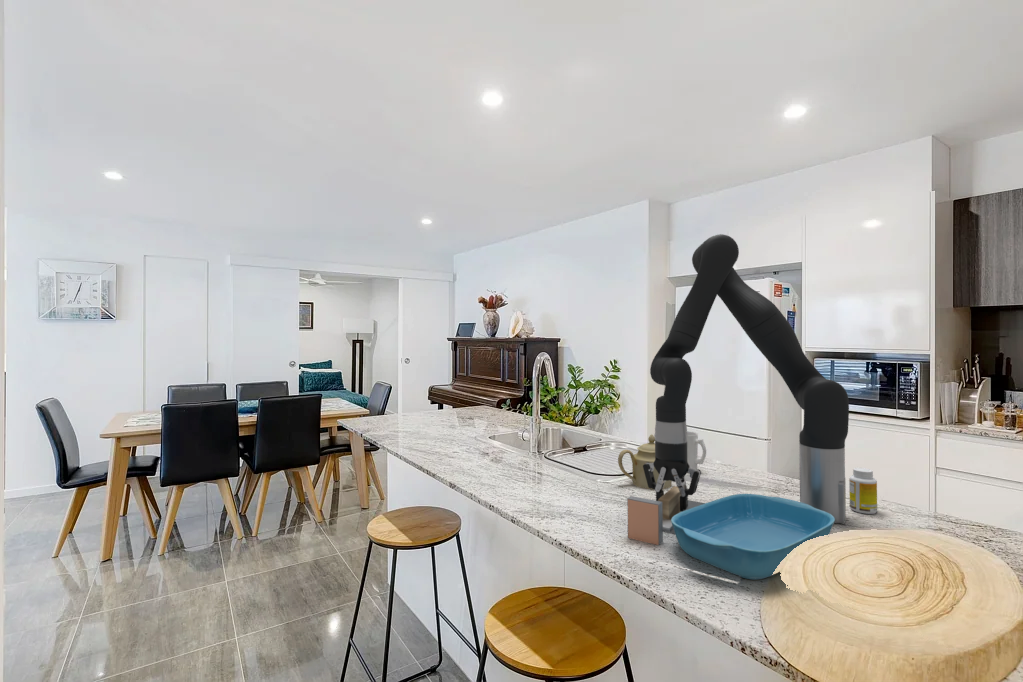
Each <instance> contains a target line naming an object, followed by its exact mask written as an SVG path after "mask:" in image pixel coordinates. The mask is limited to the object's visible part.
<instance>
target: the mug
mask: <svg viewBox="0 0 1023 682" xmlns="http://www.w3.org/2000/svg"><path fill="white" fill-rule="evenodd" d="M699 445H700V446H701V450H702V455H701V457H700V458H698V456H699V455H698V453H699V452H698V451H699V449H698V448H699V447H698V446H699ZM706 456H707V448H706V444H705V442H704V439H702V438H699V433H697V432H695V431H688V430H687V462H688V464H689V466H690V468H692V469H695V470H697V469H698V465H703V464H704V462H705V459H706ZM688 473H689V472H687V474H688Z"/></svg>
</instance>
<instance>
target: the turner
mask: <svg viewBox="0 0 1023 682" xmlns="http://www.w3.org/2000/svg"><path fill="white" fill-rule="evenodd" d="M680 496H681V494H680V491H679V488H678V487H677V485H676V486H675V485H674V486H673V487H672V486H671V487H670V489H669V490H667V491H666V492H664V495H663V496H662V497H660V498H659V499H658V501H661V502H662V507H663V530H665V531H670V530H671V529H672V528H673V525H672V522H671V519H672V517H673V516H674V515H676V514H678V513H679V512H680Z"/></svg>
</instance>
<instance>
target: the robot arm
mask: <svg viewBox="0 0 1023 682" xmlns="http://www.w3.org/2000/svg"><path fill="white" fill-rule="evenodd" d="M739 254H740V252H739V246H738V243H737V242H736V241H735V239H734V238H732V237H731V236H730V235H727V234H722V233H720V234H715V235H713V236H710V237H707V239H705V240H704V241H703V242H702V243H701V244H700V245H698V247H697V248H696V249H695V250H694V252H693V253H692V257H691V261H692V267H693V268H694V271H695V272H696V276H695V279H694V282H693V284H692V286H691V289H690V290H689V292H688V294H687V296H686V297H685V299H684V301H683V302H682V305H680V308H679V310H678V311H677V313H676V315H675V318H674V320H673V323H672V325H671V328H670V331H669V332H668V333H669V334H668V336H667V338H666V340H665V341H664V342H663V343H662V345H661V347H660V348H659V349H658V351H657V353H656V354H655V356H654V357H653V359H652V362H651V364H650V369H649V374H650V377H651V379H652V381H653V382H654V383H655V384H658V385H662V386H664V392H663V395H661V396H659V397H657V398H656V400H655V427H654V434H653V436H654V437H655V441H654V443H655V461H654V463H649V462H647V463H646V464H644V465H643V469H644V473H645V477H646V480H647V484H648V487H649V488H652V489H651V490H654V492H655V501H658V499H659V498H660V497H662V496H663V495H664V494H665V490H664V489H663V487H664V484H665V482H666V481H668V480H671V482H673V483H674V482H675V484H676V486H677V487H678V488H679V491H680V494H681V496H680V511H682V512H683V511H685V510H686V509H687V507H688V500H689V496H693V495H694V494H695V493H696V492H697V490H698V489H697V488H698V486H699V481H700V478H701V474H702V471H701V469H699V468H697V470H695V469H692V468H690V466H689V464H688V462H687V431H688V427H687V408H686V407H687V406H686V405H687V404H686V403H687V401H688V399H689V398H688V397H689V394H690V389H691V385H692V381H693V379H692V378H693V374H692V373H693V372H692V368H691V366H690V364H689V362H688V361H687V360H686V359H683V358H684V356H685V355H687V354H689V353H693V352H694V351H695V349H696V348H697V345H698V343H699V341H700V338H701V336H702V333H703V330H704V327H705V326H706V323H707V319H708V317H709V314H710V312H711V310H712V309H713V308H712V307H713V304H714V302H715V301H716V298H717V297H719V298H720V300H721V301H722V302H723V304H724V305H725V306H726V308H727V309H728V311H729V312H730V313H731V314H732V316H733V317H734V319H735V320H736V321H737V323H738V324H739V325H740V327H741V329H742V330H743V331H744V332H745V334H746V336H747V337H748V338H749V339H750V340H751V341H752V344H754V346H755V347H756V348H757V349H758V350H759V351H760V353H761V354H762V355H763V356H764V358H766V359H767V361H768V362H769V363H770V364H771V365H772V366H773V368H775V370H776V371H777V372H778V373H779V375H780V377H781V378H782V379H783V381H784V382H785V385H786V386H787V388H788V390H789V391H790V393H791V394H792V396H793V398H794V399H795V402H796V403H797V404H798V406H799V407H800V409H802V410H803V427H802V430H801V431H800V432H799V435H798V436H799V437H798V438H799V441H798V442H799V443H798V444H799V449H798V450H799V452H798V453H799V454H798V455H799V502H802V503H805V504H808V505H810V506H812V507H814V508H816V509H819V510H822V511H825V512H827V513H829V514H831V515H832V516H833V517H834V518H835V521H834V524H843V525H845V524H846V516H847V515H846V513H847V512H846V508H847V507H846V502H847V501H846V494H847V493H846V488H847V487H846V461H845V460H846V459H845V458H846V452H845V451H846V449H845V447H846V439H847V436H848V434H849V423H850V422H849V420H850V419H849V417H850V415H849V414H850V402H849V401H850V399H849V395H848V392H847V390H846V389H845V388H844V387H843V385H842V384H841V383H839V382H837V381H836V380H832V379H828V378H826V377H825V376H824V375H822V373H821V372H820V371H819V370H818V369H817V368H816V367H815V366H814V365H813V363H811V361H810V360H809V359H808V357H807V356H806V355H805V353H804V351H803V349H802V346H801V344H800V341H799V339H798V337H797V335H796V332H795V331H794V329H793V327H792V325H791V324H790V322H789V321H788V319H787V318H786V317H785V315H784V314H783V313H782V312H781V310H780V309H779V308H778V307H777V306H776V305H775V303H774V302H772V301H771V300H770V299H768V298H767V297H765V296H764V295H762V294H761V293H760V292H758V291H756V290H755V289H753V288H752V287H751V286H749V285H748V284H747V283H746V282H745V281H744V280H743V279H742V278H741V277H740V275H739V274H738V272H737V271H736V269H735V268H734V266H735V264H736V262H737V261H738V259H739ZM654 467H655V469H656V470H657V472H658V473H659V477H658V480H657V483H656V482H655V478H654V474H653V471H654ZM688 472H689V477H690V484H689V487H688V485H687V480H686V478H685V476H686V474H688Z"/></svg>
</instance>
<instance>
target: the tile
mask: <svg viewBox="0 0 1023 682" xmlns="http://www.w3.org/2000/svg"><path fill="white" fill-rule="evenodd" d="M626 500H627V505H626V506H627V538H629V539H631V540H636V541H639V542H643V543H649V544H651V545H657V546H660V545H661V544H662V543H663V542H664V532H663V507H662V502H661V501H656V499H649V498H646V497H645V498H644V497H638V496H634V495H633V496H632V495H630V496H629V497H627V499H626Z"/></svg>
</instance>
